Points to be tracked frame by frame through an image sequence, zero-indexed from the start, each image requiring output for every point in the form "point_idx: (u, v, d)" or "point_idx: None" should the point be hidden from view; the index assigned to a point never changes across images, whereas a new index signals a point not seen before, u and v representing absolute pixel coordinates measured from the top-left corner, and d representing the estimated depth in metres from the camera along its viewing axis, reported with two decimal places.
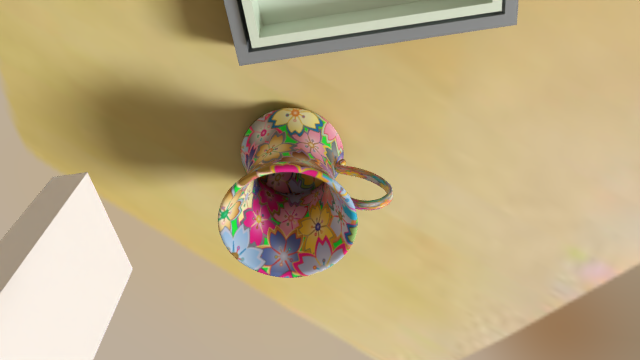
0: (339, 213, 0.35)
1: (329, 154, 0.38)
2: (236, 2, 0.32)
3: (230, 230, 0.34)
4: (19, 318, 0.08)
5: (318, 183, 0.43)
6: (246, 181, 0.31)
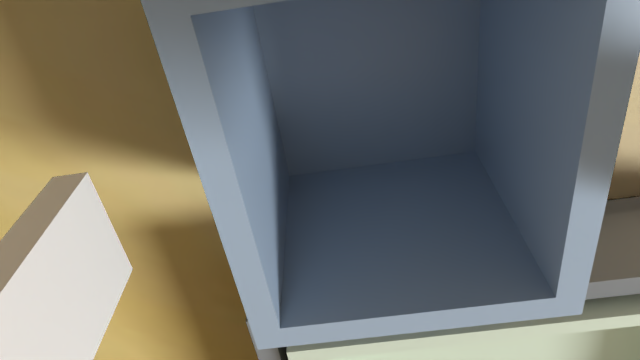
0: None
1: None
2: None
3: None
4: (19, 318, 0.08)
5: None
6: None
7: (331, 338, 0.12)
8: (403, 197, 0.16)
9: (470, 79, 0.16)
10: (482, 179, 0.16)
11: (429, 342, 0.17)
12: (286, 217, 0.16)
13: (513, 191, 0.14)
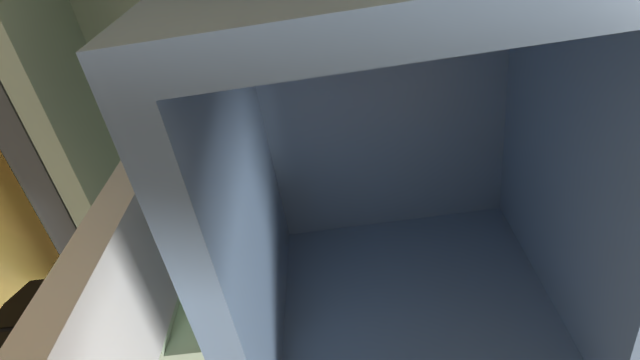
0: None
1: None
2: None
3: None
4: (123, 266, 0.08)
5: None
6: None
7: None
8: (420, 266, 0.14)
9: (496, 130, 0.14)
10: (510, 245, 0.14)
11: None
12: (285, 290, 0.14)
13: (552, 269, 0.12)
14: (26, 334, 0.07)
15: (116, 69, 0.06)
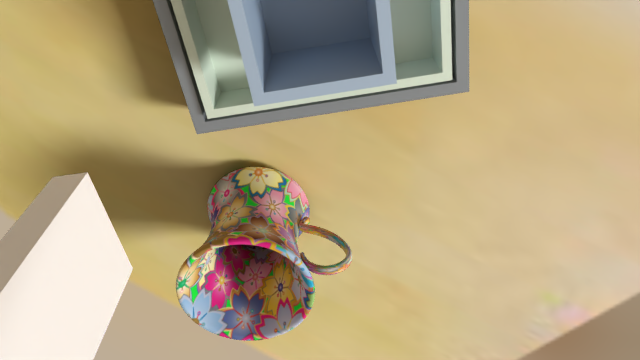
0: (299, 277, 0.35)
1: (292, 213, 0.38)
2: (190, 76, 0.32)
3: (190, 297, 0.34)
4: (20, 317, 0.08)
5: None
6: (201, 253, 0.31)
7: (286, 99, 0.28)
8: (328, 54, 0.31)
9: None
10: (369, 46, 0.31)
11: None
12: (269, 65, 0.31)
13: (375, 40, 0.29)
14: None
15: None
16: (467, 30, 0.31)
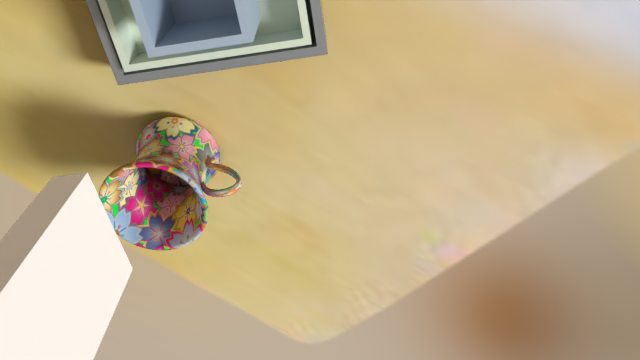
0: (198, 199, 0.44)
1: (200, 153, 0.48)
2: (109, 38, 0.41)
3: (111, 212, 0.44)
4: (20, 318, 0.08)
5: None
6: (115, 174, 0.41)
7: (172, 52, 0.37)
8: (214, 22, 0.40)
9: None
10: None
11: None
12: (168, 30, 0.40)
13: None
14: None
15: None
16: (319, 5, 0.40)
